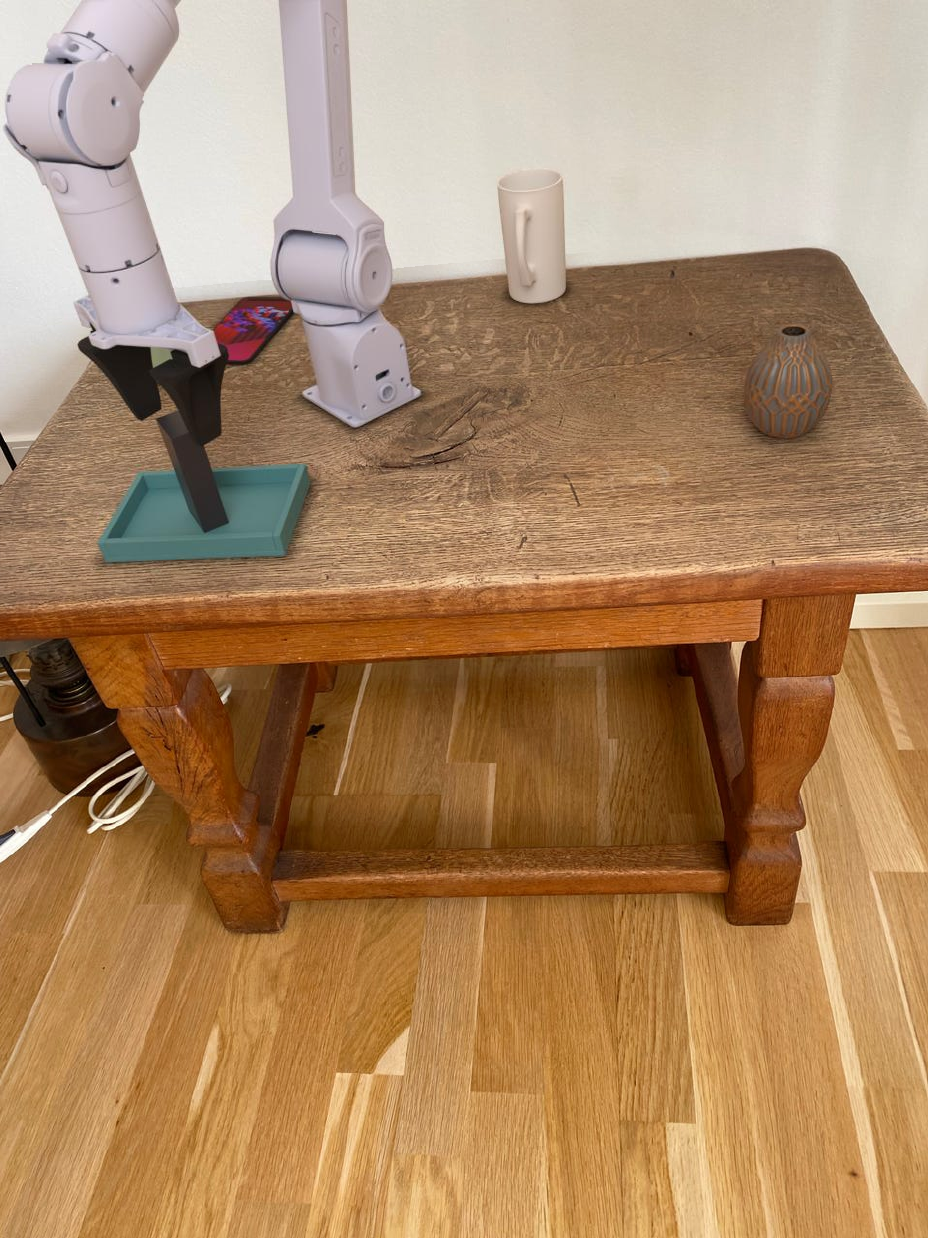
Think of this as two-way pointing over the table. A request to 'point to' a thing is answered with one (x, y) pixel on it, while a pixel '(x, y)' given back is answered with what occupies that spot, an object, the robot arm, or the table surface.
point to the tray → (168, 531)
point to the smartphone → (252, 326)
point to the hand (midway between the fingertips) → (178, 426)
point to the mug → (533, 233)
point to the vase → (788, 384)
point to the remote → (193, 473)
